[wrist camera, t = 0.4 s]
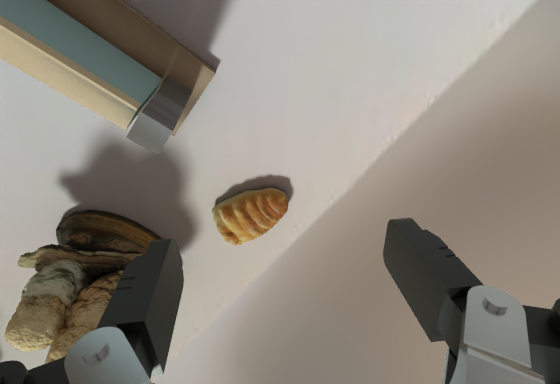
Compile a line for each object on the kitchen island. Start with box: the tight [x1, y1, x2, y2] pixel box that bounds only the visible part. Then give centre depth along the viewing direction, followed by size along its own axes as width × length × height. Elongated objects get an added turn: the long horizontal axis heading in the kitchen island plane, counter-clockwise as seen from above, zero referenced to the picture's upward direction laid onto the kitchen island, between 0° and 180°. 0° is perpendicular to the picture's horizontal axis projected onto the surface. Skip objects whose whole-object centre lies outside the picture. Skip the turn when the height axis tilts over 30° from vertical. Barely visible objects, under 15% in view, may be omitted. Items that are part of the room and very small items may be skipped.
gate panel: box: [0, 0, 163, 130], centre depth 22 cm, size 2×14×8 cm, turn 51°
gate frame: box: [47, 0, 216, 155], centre depth 23 cm, size 8×21×10 cm, turn 51°
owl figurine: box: [5, 210, 163, 364], centre depth 35 cm, size 18×12×17 cm, turn 41°
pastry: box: [212, 188, 289, 245], centre depth 38 cm, size 9×7×4 cm
